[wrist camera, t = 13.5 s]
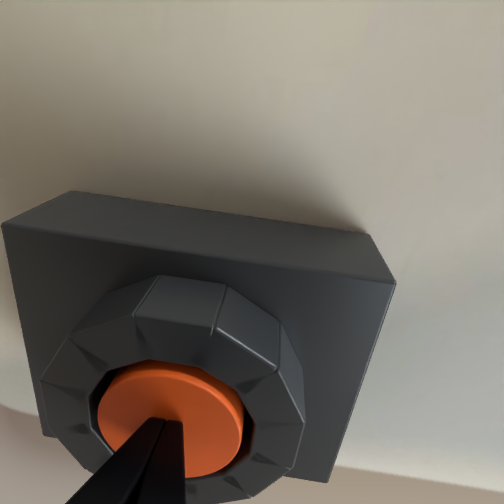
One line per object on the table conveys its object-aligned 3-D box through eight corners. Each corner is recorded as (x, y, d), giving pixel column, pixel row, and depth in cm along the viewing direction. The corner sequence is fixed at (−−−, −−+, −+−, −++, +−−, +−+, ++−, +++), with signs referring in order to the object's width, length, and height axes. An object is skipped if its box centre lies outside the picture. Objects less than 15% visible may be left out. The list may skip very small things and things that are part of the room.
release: (88, 370, 15) (4, 490, 11) (69, 189, 12) (-67, 253, 7) (320, 407, 15) (334, 547, 10) (370, 233, 11) (424, 328, 7)
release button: (128, 411, 11) (101, 466, 9) (123, 318, 10) (90, 364, 8) (241, 430, 11) (233, 488, 9) (255, 338, 9) (249, 389, 8)
